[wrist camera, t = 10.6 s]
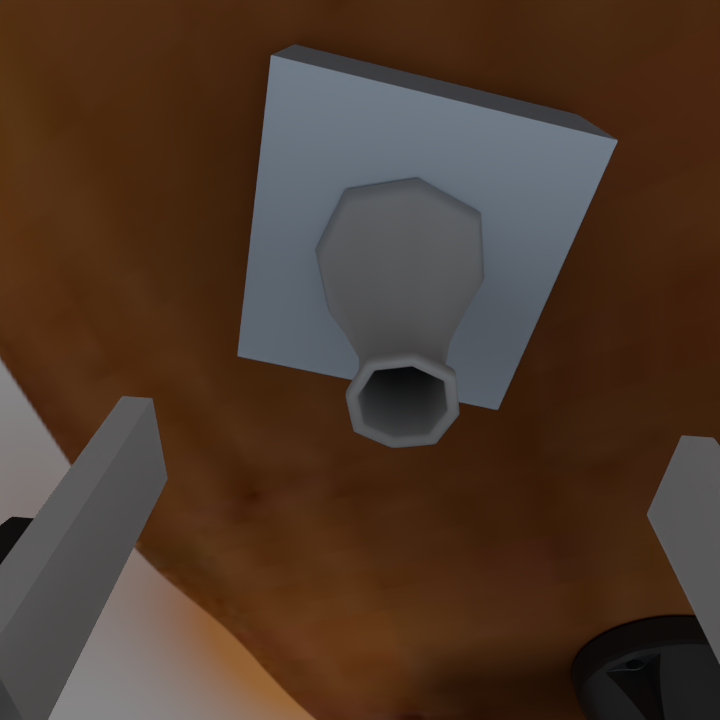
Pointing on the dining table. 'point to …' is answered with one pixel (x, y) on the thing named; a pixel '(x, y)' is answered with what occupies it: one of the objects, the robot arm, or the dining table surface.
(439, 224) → the flask
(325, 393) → the dining table surface
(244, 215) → the dining table surface
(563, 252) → the grey block
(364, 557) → the dining table surface
